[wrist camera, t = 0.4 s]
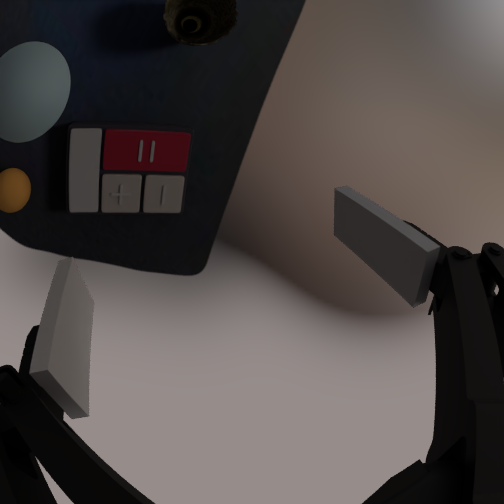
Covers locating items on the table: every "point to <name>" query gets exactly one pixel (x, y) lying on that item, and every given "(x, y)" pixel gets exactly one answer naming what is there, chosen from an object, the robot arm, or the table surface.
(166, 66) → the table surface
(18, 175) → the ball
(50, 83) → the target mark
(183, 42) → the dark brown rounded lump
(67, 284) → the robot arm
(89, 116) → the table surface
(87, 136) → the calculator
